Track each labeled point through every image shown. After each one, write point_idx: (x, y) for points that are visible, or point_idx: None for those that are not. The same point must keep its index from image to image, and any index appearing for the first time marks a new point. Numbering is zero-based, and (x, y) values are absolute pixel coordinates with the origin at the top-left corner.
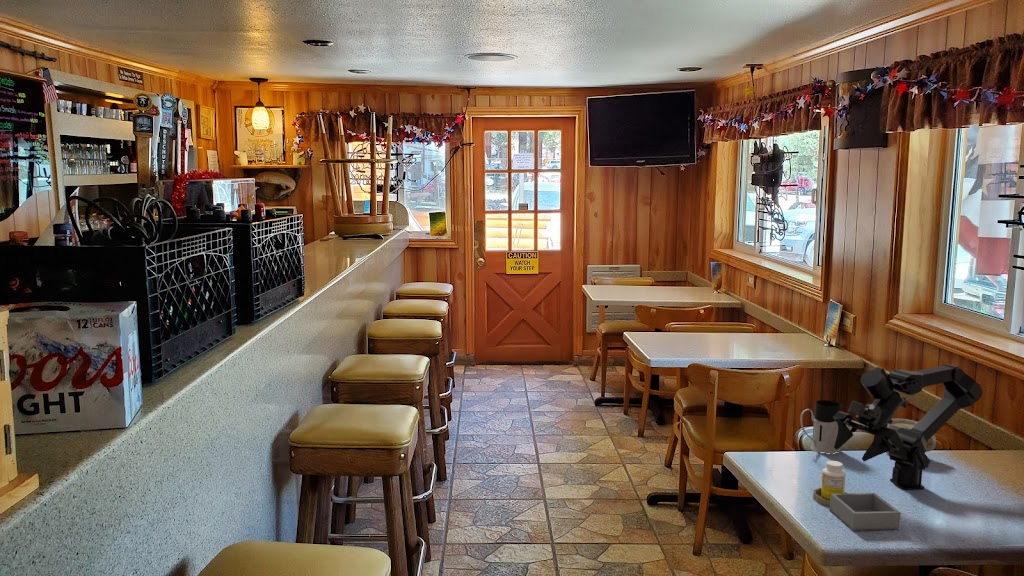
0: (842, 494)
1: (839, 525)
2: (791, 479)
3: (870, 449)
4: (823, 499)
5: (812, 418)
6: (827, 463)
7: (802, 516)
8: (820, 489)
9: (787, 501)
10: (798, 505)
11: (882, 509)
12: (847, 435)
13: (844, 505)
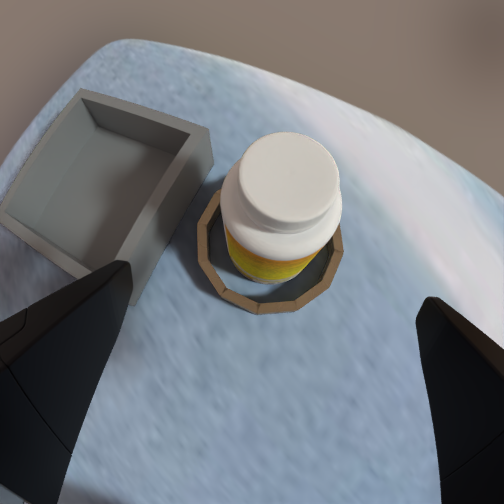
0: (176, 160)
1: None
2: (456, 273)
3: (40, 307)
4: None
5: None
6: (308, 137)
7: (231, 79)
8: (333, 245)
9: (328, 117)
10: (291, 119)
11: (65, 252)
12: (469, 471)
13: (122, 100)
